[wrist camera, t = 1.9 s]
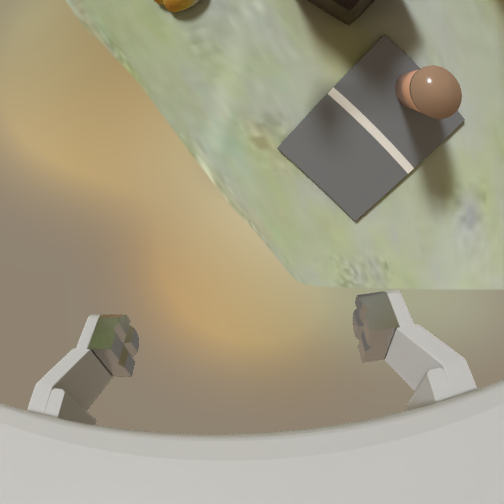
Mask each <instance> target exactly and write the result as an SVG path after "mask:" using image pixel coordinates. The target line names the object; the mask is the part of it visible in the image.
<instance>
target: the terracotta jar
mask: <svg viewBox="0 0 504 504" xmlns="http://www.w3.org/2000/svg"><path fill="white" fill-rule="evenodd" d="M395 93H396V96H397V98H398V100H399V101H400V102H401V103H402V104H403V105H404V106H406V107H408V108H410V109H413V110H416V111H419V112H421V113H423V114H425V115H427V116H429V117H432V118H436V119H445V118H448V117H450V116H452V115H453V114H454V113H455V112H456V111H457V110H458V108H459V106H460V104H461V98H462V94H461V88H460V85H459V83H458V81H457V80H456V78H455V77H454V76H453V75H452V74H451V73H450V72H449V71H448V70H446V69H444V68H442V67H439V66H427V67H423V68H421V69H419V70H415V71H411V72H407V73H404V74H402V75H401V76H400V77H399V78H398V79H397V81H396V84H395Z"/></svg>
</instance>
